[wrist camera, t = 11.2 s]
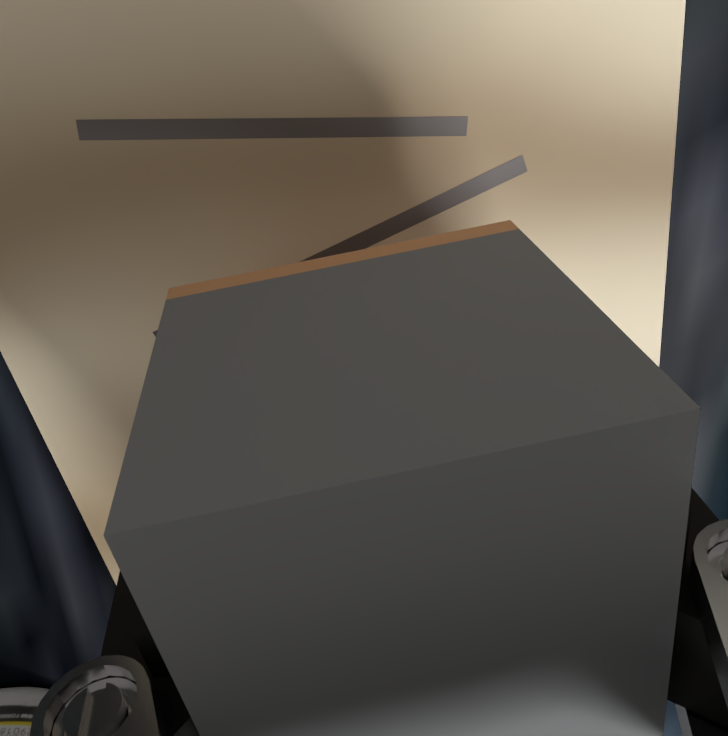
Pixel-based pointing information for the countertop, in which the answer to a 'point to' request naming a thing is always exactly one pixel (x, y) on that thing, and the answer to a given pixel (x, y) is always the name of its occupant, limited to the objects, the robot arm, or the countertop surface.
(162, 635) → the block
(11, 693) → the supplement bottle
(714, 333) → the countertop surface
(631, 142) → the birch board
